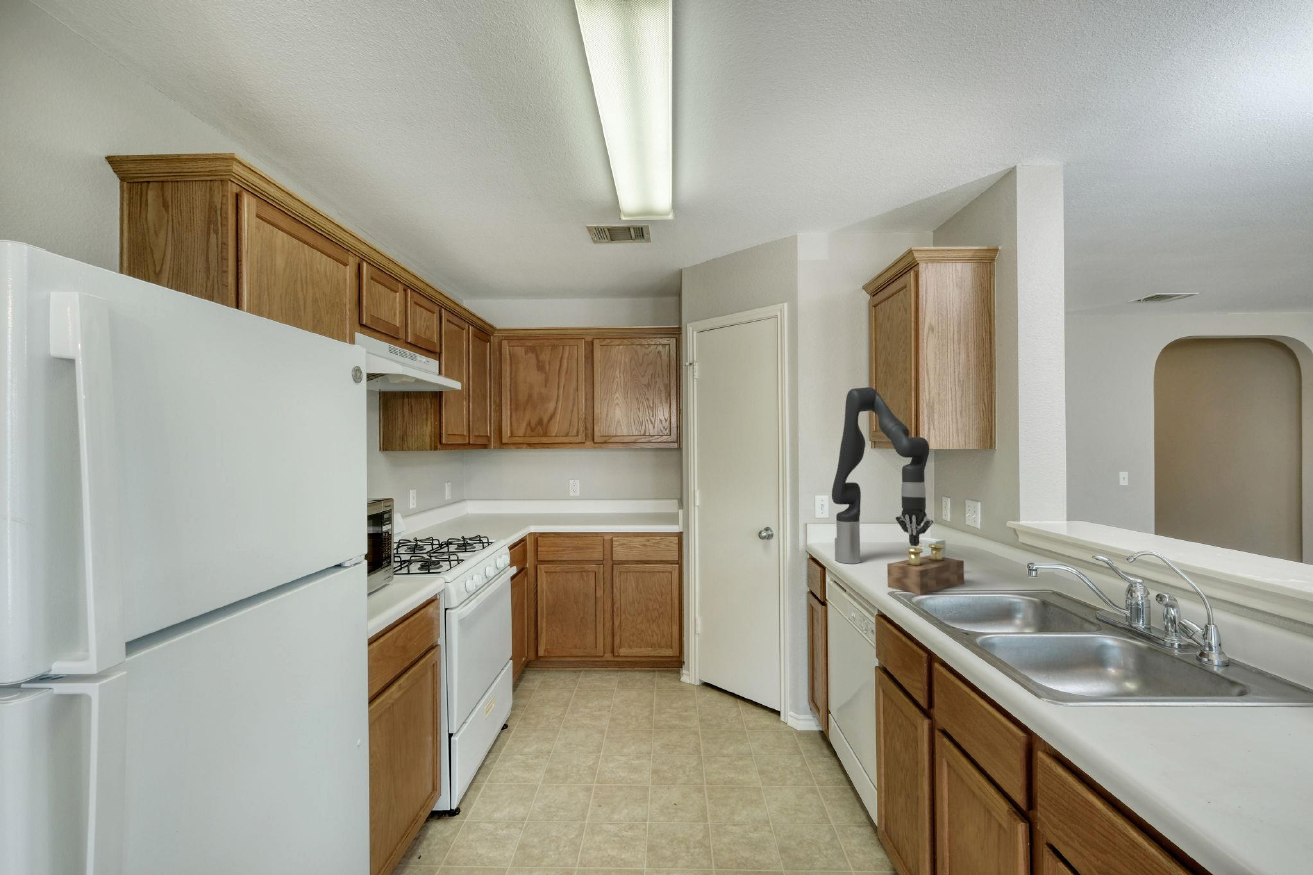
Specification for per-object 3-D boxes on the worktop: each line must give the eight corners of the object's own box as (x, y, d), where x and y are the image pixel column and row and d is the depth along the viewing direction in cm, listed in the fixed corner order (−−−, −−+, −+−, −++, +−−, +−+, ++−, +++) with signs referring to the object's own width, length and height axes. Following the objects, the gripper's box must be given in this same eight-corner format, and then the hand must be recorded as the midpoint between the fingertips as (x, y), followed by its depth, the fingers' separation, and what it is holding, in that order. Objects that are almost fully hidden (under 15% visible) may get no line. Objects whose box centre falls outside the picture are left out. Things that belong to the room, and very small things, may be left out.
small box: (946, 574, 204) (946, 539, 205) (936, 576, 201) (935, 541, 201) (926, 570, 211) (926, 536, 212) (916, 572, 208) (915, 538, 208)
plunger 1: (903, 572, 187) (903, 548, 187) (912, 570, 189) (912, 546, 189) (917, 575, 182) (916, 550, 182) (926, 573, 185) (925, 549, 185)
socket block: (887, 586, 187) (887, 563, 188) (931, 576, 201) (931, 555, 201) (920, 594, 177) (919, 570, 177) (964, 583, 191) (963, 560, 191)
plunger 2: (925, 568, 193) (925, 544, 194) (934, 566, 196) (933, 542, 196) (939, 570, 189) (939, 546, 189) (947, 568, 192) (947, 545, 192)
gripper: (889, 494, 190) (890, 544, 190) (925, 497, 179) (926, 549, 178) (902, 493, 194) (903, 541, 194) (938, 495, 183) (939, 547, 182)
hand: (914, 545), depth 186 cm, fingers closed
